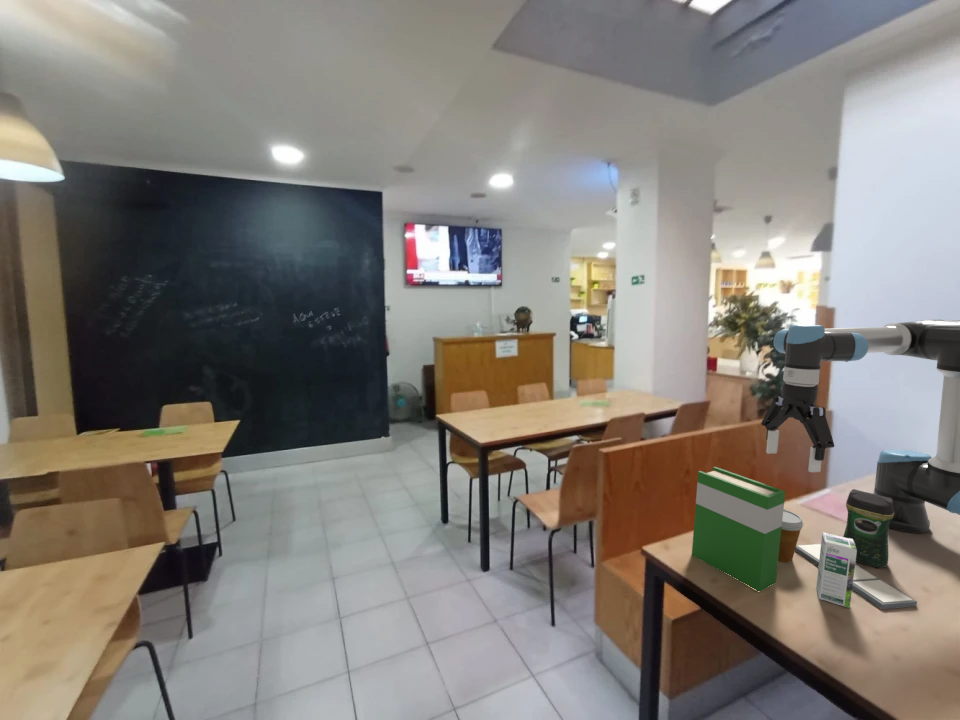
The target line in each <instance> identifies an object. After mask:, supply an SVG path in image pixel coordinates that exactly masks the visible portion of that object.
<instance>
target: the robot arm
mask: <svg viewBox="0 0 960 720" xmlns="http://www.w3.org/2000/svg"><path fill="white" fill-rule="evenodd" d="M773 347H774V349H775V350H776V351H777V352H778V353H780V354H784V355H785V356H784V366H783V367H784V368H783V375H782V381H783V383H782V385H781V393H780V394H781V396H773V398H772V402H771V405H770V407H769V408H768V409H767V412H766V413H765V415H764V417H763V418H762V420H761V422H760V424H761V426H763V427H765V429H766V450H765V452H766V454H768V455H769V454H777V453H778V447H779V446H778V445H779V438H780V437H779V435H780V431H779V427H780V426H782V425H783V424H784V422H785V421H787V420H788V419H789V418H793V419H794V420H797V421H799V422H800V423H801V424H802V425H803V427H804V429H805V431H806V432H807V435H808V436H809V438H810V440H811V442H812V444H813V445H811V446H810V450H809V460H808V466H807V467H808V469H807V472H809V473H821V468H822V462H823V461H824V459H825V452H826V449H827V448H828V449H829V448H830V449H831V448H832V449H833V448H835V443H834V440H833V439H834V438H833V436H832V433H831V430H830V427H829V423H828V419H827V415H826V414H827V413H826V411H827V410H826V407H819V406H818V407H817V406H814V405H815V404H814V403H815V402H816V400H817V399H818V390H819V387H818V386H817V385H818V384H819V382H820V373H821V365H822V362H846V363H848V362H853V361H854V362H856V361H859V360H861V359H863V358H864V357H865V356H866V355H867V354H870V353H871V354H872V353H884V354H886V355H888V356H905V357H912V358H918V359H925V360H930V361H936V370H937V371H938V372H940V373H941V374H942V375H943V381H942V392H941V402H940V409H939V412H940V413H939V422H938V431H937V432H938V433H937V442H936V453H935V456H933V457H932V456H931V455H930V454H928V453H925V452H919V451H913V450H906V449H905V450H903V449H884V450H882V451H880V452H879V455H878V460H877V461H876V463H877V464H876V472H875V473H876V474H875V481H874V482H875V483H874V490H873V493H872V494H876V495H880V496H884V497H889V498H891V499H892V500H893V507H894V516H893V518H892V519H891V520H890V522H889V528H890V529H892V530H896V531H900V532H906V533H913V534H925V533H928V532H930V526H931V522H930V520H929V517H928V511H927V509H926V508H927V507H926V504H925V503H928V504H931V505H933V506H935V507H938V508H941V509H943V510H946V511H948V512H949V513H951V514H957V515H958V516H960V320H957V319H956V320H951V319H949V320H948V319H925V320H916V321H915V320H914V321H907V322H893V323H892V322H891V323H886V324H885V325H883V326H873V327H872V326H871V327H870V326H869V327H868V326H867V327H840V328H839V327H837V328H834V327H833V328H825V326H824V325H821V324H792V325H790V326H789V328H784V329H781V330H779V331H777V333H776V334H775V336H774V338H773Z"/></svg>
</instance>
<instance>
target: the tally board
mask: <svg viewBox="0 0 960 720" xmlns="http://www.w3.org/2000/svg"><path fill="white" fill-rule="evenodd" d="M820 549H821V543H812V544H799V545H797V544H796V548H795V551H794V552H796V553H797V554H799V555H801V556H802V557H804V558H805V559H806V560H808V561H809V560H810V562H811V563H812V562H813V564H814V563H815V564H816V566H817V567H818V566H819V559H820ZM815 564H814V565H815ZM852 591H854V592H855V593H857V594H859V595H860V596H861V597H863V598H865V599H866V600H867V601H868V602H871V603H872V604H873V605H875V606H876V607H877V608H879V609H881V610H889V609H890V610H891V609H899V608H912V607H917V604H918V600H915V599H914V598H912V597H911V596H909V595H907V594H906V593H904V592H902V591H901V590H899V589H897V588H896V587H894V586H893V585H891V584H889V583H888V582H886V581H884V580H882V579H881V578H879V577H877V576H876V575H874V574H873V573H871V572H870V571H868V570H866V569H865V568H863V567H861V566H859V565H858V564H856V563H855V569H854V577H853V585H852Z"/></svg>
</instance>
